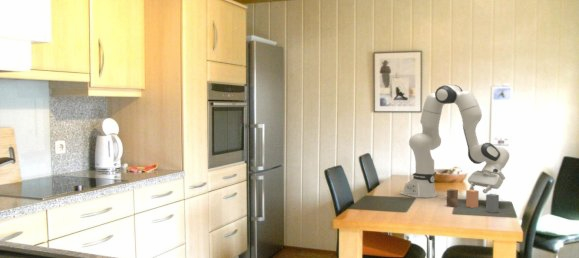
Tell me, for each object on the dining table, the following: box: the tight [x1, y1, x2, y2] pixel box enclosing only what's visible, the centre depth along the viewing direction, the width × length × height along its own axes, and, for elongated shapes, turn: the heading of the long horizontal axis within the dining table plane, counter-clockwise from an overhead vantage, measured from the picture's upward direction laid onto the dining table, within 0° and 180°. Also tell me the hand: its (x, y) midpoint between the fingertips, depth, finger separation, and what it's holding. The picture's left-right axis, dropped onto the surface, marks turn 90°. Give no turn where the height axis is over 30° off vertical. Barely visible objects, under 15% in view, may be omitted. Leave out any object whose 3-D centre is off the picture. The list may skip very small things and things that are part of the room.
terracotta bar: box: [465, 189, 480, 209], centre depth 281 cm, size 4×4×9 cm
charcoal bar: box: [485, 193, 500, 214], centre depth 268 cm, size 4×4×9 cm
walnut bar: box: [446, 188, 459, 208], centre depth 283 cm, size 4×4×9 cm
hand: (477, 191), depth 282 cm, fingers open, 8 cm apart
